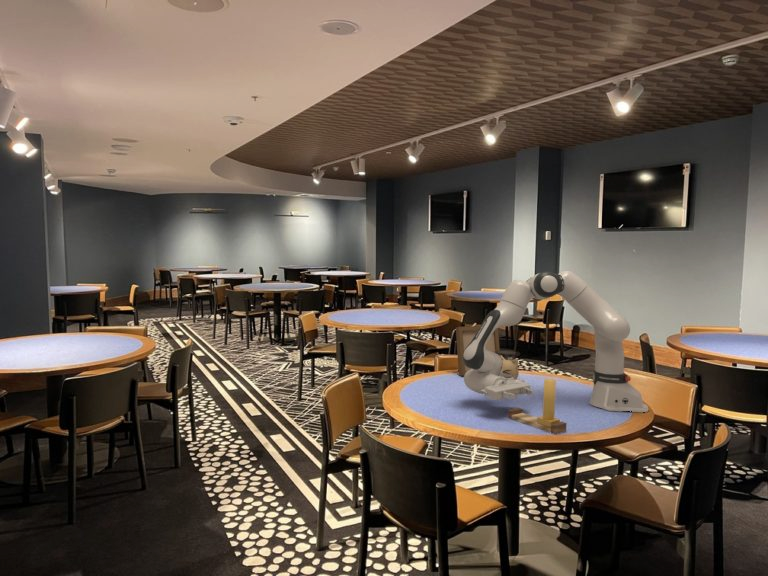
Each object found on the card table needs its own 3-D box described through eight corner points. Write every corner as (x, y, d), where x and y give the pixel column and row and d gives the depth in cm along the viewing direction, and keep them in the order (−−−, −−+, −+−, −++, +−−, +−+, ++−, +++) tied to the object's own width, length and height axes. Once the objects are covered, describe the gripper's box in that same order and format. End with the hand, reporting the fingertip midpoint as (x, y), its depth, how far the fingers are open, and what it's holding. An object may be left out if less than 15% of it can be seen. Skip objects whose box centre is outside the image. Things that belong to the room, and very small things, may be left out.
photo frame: (501, 375, 277) (502, 327, 275) (462, 377, 271) (463, 328, 270) (489, 369, 291) (490, 323, 290) (451, 371, 286) (452, 324, 284)
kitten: (486, 386, 253) (487, 355, 252) (500, 384, 259) (501, 353, 258) (511, 394, 241) (512, 361, 240) (525, 390, 247) (526, 358, 246)
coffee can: (518, 381, 265) (519, 353, 264) (500, 382, 262) (501, 354, 261) (508, 376, 274) (509, 349, 273) (490, 377, 272) (491, 350, 271)
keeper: (537, 422, 196) (538, 379, 195) (545, 420, 198) (547, 377, 197) (550, 427, 191) (552, 382, 190) (559, 424, 194) (561, 381, 192)
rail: (507, 417, 207) (508, 410, 206) (518, 415, 210) (518, 407, 210) (555, 434, 189) (555, 426, 188) (566, 431, 192) (566, 423, 192)
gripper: (477, 382, 209) (504, 390, 198) (513, 376, 221) (541, 383, 209) (477, 398, 209) (504, 407, 198) (513, 391, 221) (540, 399, 210)
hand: (523, 395), depth 204 cm, fingers open, 8 cm apart
